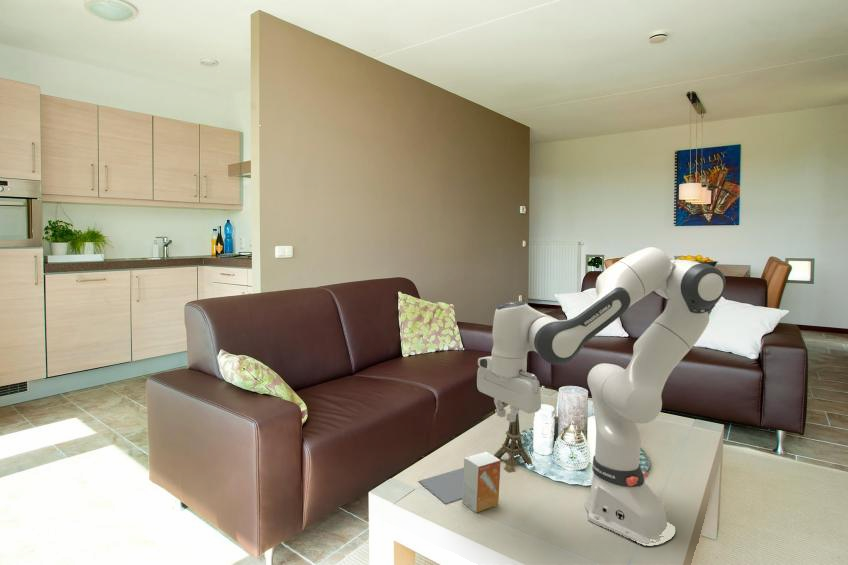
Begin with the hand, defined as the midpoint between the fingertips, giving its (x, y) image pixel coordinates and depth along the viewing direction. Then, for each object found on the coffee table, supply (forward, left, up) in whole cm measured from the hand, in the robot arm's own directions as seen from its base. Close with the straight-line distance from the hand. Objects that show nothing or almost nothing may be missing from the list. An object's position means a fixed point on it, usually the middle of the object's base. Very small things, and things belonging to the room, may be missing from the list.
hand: (506, 418), depth 124 cm
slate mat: (+20, -1, -27) cm, 34 cm away
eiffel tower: (+22, -25, -27) cm, 43 cm away
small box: (+8, 0, -27) cm, 29 cm away
